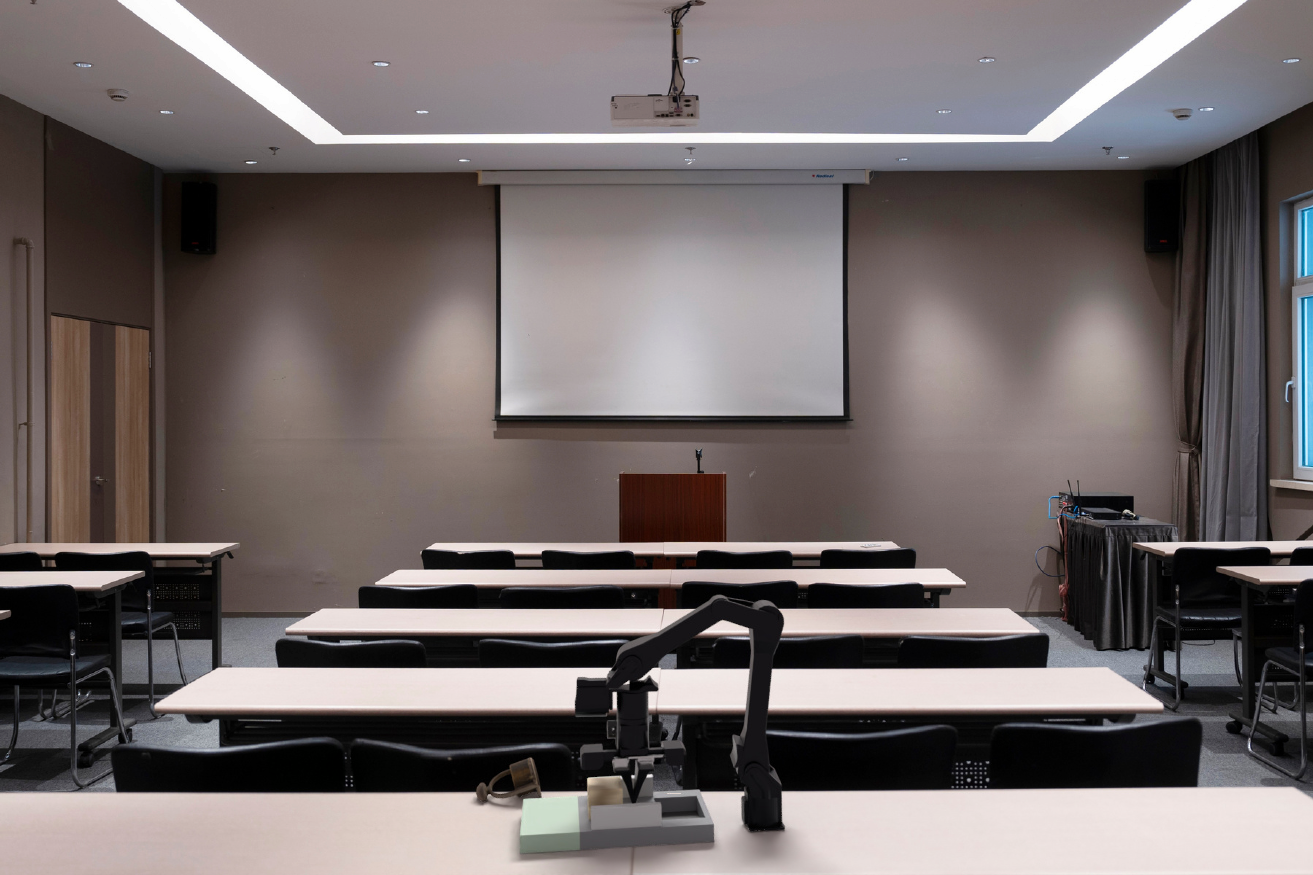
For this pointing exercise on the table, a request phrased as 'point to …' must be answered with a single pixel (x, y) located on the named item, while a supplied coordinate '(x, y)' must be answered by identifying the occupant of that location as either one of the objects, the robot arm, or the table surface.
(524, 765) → the brown cylinder with loop
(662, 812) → the stepped grey tray
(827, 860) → the table surface
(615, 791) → the maple block
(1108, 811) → the table surface
